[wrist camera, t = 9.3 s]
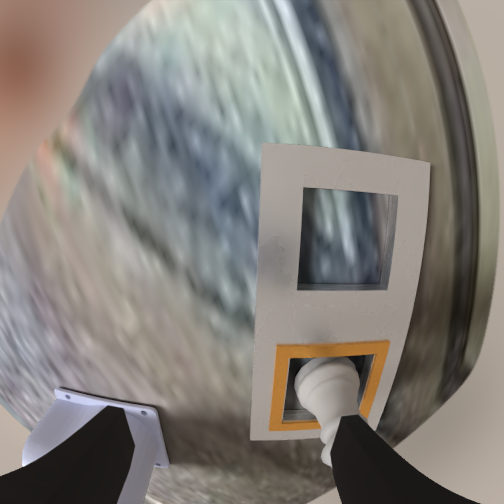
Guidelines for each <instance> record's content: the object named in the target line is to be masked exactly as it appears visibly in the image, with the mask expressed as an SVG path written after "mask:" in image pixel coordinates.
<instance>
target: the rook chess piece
mask: <svg viewBox="0 0 504 504" xmlns="http://www.w3.org/2000/svg"><path fill="white" fill-rule="evenodd" d="M359 386H360V380H359V376H358V372H357V371H356V368H355V364H354V363H353V362H352V361H351V360H350V359H349V358H347V357H344V356H338V357H317V358H314V359H312V360H311V361H309V362H308V363H307V364H306V365H304V366H303V367H302V368H301V369H300V371H299V372H298V374H297V375H296V377H295V383H294V389H295V391H296V393H297V397H298V399H299V401H300V404H301V405H302V406H303V407H304V408H306V409H307V410H308V411H309V412H311V413H312V414H313V415H315V416H316V418H317V420H318V422H319V424H320V426H321V429H322V431H321V435H320V438H321V441H322V442H323V443H324V444H326V446H325V447H324V449H323V451H322V454H321V459H322V461H323V463H325V464H327V465H329V466H331V468H332V464H331V457H330V451H331V448H332V445H333V442H334V439H335V435H336V432H337V429H338V426H339V422H340V419H341V416H348V415H356V414H358V415H359V416H360V417H361V418H362V419H363V420H364V421H365V422H366V423H367V424H368V420H367V418H365V417H364V416H363V415H361V413H360V411H359V408H358V404H357V396H358V390H359ZM377 434H378V433H377ZM378 435H379V434H378ZM379 436H380V435H379Z"/></svg>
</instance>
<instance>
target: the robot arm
mask: <svg viewBox="0 0 504 504" xmlns="http://www.w3.org/2000/svg"><path fill="white" fill-rule="evenodd" d="M54 392H55V395H56V398H57V399H56V400H55V401H54V403H53V404H52V405H51V407H50V408H49V409H48V411H47V412H46V413H45V415H44V416H43V417H42V419H41V420H40V421H39V423H38V424H37V425H36V427H35V428H34V430H33V431H32V432H31V434H30V435H29V436H28V438H27V440H26V442H25V445H24V448H23V453H22V466H23V467H22V468H20V469H17V470H15V471H13V472H10V473H8V474H5V475H2V476H0V504H143V503H144V499H145V496H146V492H147V488H148V485H149V481H150V478H151V474H152V471H153V467H160V468H168V467H169V465H170V463H169V459H168V455H167V451H166V447H165V443H164V439H163V435H162V430H161V426H160V421H159V417H158V412H157V410H156V409H155V408H153V407H149V406H142V405H136V404H130V403H124V402H119V401H114V400H108V399H104V398H99V397H94V396H90V395H86V394H81V393H77V392H73V391H69V390H66V389H62V388H56V389H55V391H54ZM144 411H145V412H144ZM330 457H331V464H332V470H333V476H334V480H335V483H336V486H337V489H338V492H339V496H340V499H341V502H342V504H480V503H477V502H474V501H472V500H469V499H466V498H465V497H462V496H460V495H458V494H456V493H454V492H452V491H450V490H448V489H446V488H444V487H442V486H441V485H439V484H437V483H435V482H434V481H433V480H431V479H429V478H428V477H426V476H425V475H424V474H422V473H421V472H419V471H418V470H417V469H416V468H414V467H413V466H412V465H410V464H409V463H408V462H407V461H406V460H405V459H403V458H402V457H401V456H400V455H399V454H398V453H397V452H396V451H394V450H393V449H392V448H391V447H390V446H389V445H388V444H387V443H386V442H385V441H384V440H383V439H382V438H381V437H380V436H379V435H378V434H377V433H376V432H375V431H374V430H373V429H372V428H371V427H370V426H369V425H368V424H367V423H366V422H365V421H364V420H363V419H362V418H361V417H360V416H359V415H358V414H356V415H348V416H341V419H340V422H339V426H338V429H337V432H336V435H335V439H334V442H333V445H332V448H331V451H330Z"/></svg>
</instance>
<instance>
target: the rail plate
mask: <svg viewBox="0 0 504 504" xmlns="http://www.w3.org/2000/svg"><path fill="white" fill-rule="evenodd" d="M429 184H430V163H429V162H423V161H418V160H413V159H407V158H402V157H396V156H389V155H383V154H376V153H369V152H362V151H354V150H346V149H337V148H327V147H317V146H305V145H292V144H276V143H262V145H261V163H260V192H259V220H258V246H257V272H256V298H255V322H254V346H253V369H252V392H251V414H250V440H294V439H310V438H320V435H321V431H322V429H321V426H320V424H319V422H318V420H317V418H316V416H315V415H313V414H312V413H311V412H309V411H308V410H307V409H302V410H284V404H285V397H286V389H287V380H288V372H289V363H290V358H316V357H338V356H354V355H366V356H365V361H364V365H363V369H362V373H361V377H360V386H359V390H358V396H357V404H358V408H359V411H360V413H361V415H363V416H364V417H365V418H367V420H368V425H369V426H370V427H371V428H372V429H373V430H374V431H375V430H376V428H377V425H378V423H379V420H380V418H381V415H382V412H383V410H384V407H385V404H386V402H387V399H388V396H389V393H390V390H391V387H392V384H393V381H394V378H395V375H396V371H397V368H398V365H399V361H400V358H401V354H402V351H403V347H404V344H405V340H406V336H407V332H408V328H409V324H410V320H411V315H412V311H413V306H414V301H415V296H416V291H417V286H418V281H419V275H420V269H421V263H422V256H423V249H424V241H425V233H426V224H427V213H428V201H429ZM303 187H308V188H323V189H337V190H349V191H360V192H370V193H380V194H389V207H388V219H387V230H386V240H385V248H384V257H383V264H382V271H381V278H380V284H297V280H298V267H299V253H300V238H301V222H302V203H303Z"/></svg>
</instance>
